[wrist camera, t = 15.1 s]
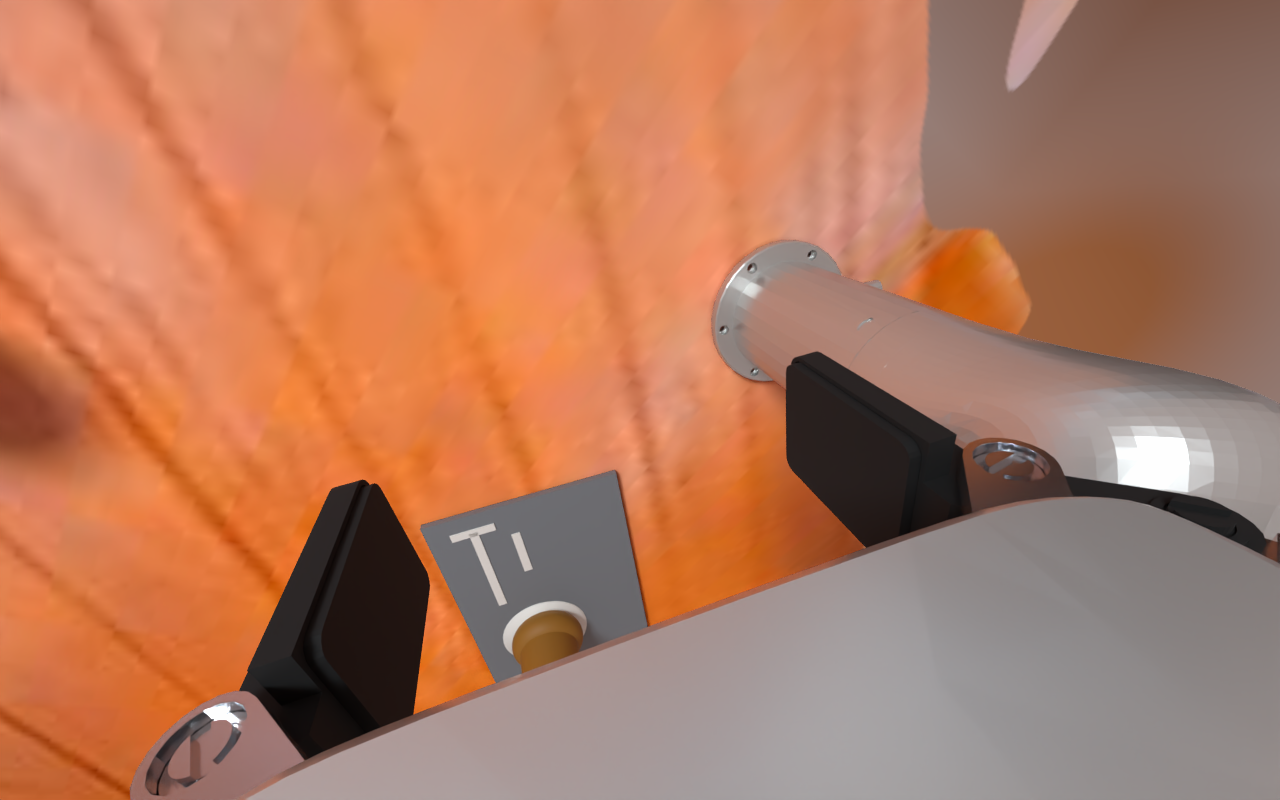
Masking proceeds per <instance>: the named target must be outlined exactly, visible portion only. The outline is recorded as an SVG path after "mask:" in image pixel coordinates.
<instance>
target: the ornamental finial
mask: <svg viewBox="0 0 1280 800" xmlns="http://www.w3.org/2000/svg"><path fill="white" fill-rule="evenodd" d="M582 642H583V630H582V627H581V624H580V623H579V621H578V620H577V619H576V618H575V617H574V616H573V615H571V614H569V613H567V612H564V611H559V610H550V611H544V612H540V613H538V614H535V615H533V616H531V617H530V618H528V619H527V620H525V621H524V622H523V623H522V624H521V625H520V626H519V628H518V629H517V631H516V632H515V635H514V637H513V641H512V651H513V655H514V657H515V659H516V661H517V662H518V663H519V664H520V665H521V671H522V673H524V672H527V671H530V670H533V669H535V668H538V667H541V666H543V665H546V664H549V663H551V662H554V661H557V660H559V659H562V658H565V657H568V656H570V655H573V654H576V653H578V652H579V650H580V648H581V646H582Z"/></svg>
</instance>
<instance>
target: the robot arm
mask: <svg viewBox="0 0 1280 800" xmlns="http://www.w3.org/2000/svg"><path fill="white" fill-rule="evenodd" d="M749 265H750V266H749ZM748 266H749V268H748ZM747 268H748V269H747ZM711 321H712V336H713V340H714V345H715V347H716V349H717V351H718V353H719V355H720V357H721V358H722V359H723V360H724V362H725V363H726V364H727V365H728V366H729V367H730V368H731V369H732V370H734V371H735V372H737V373H738V374H740V375H741V376H743V377H745V378H748V379H751V380H757V381H775V382H777V383H778V384H779V385H780V386H782V387H783V388H784V389H785V390H786V455H787V461H788V464H789V466H790V468H791V469H792V471H793V472H794V473H795V474H796V475H797V476H798V477H799V478H800V479H801V480H802V481H803V482H804V483H805V484H806V485H807V486H808V487H809V489H810V490H811V491H812V492H813V493H814V494H815V495H816V496H817V497H818V498H819V499H820V500H821V501H822V502H823V503H824V504H825V505H826V506H827V507H828V508H829V509H830V510H831V511H832V513H833V514H834V515H835V516H836V517H837V518H838V519H839V520H840V521H841V522H842V523H843V524H844V525H845V526H846V527H847V528H848V529H849V530H850V531H851V532H852V533H853V534H854V536H855V537H856V538H857V539H858V540H859V541H860V542H861V543H862V544H863V545H864V546H865V547H866V548H865V549H862V550H859V551H856V552H853V553H851V554H848V555H845V556H842V557H839V558H837V559H834V560H831V561H828V562H826V563H823V564H820V565H817V566H814V567H812V568H809V569H806V570H803V571H800V572H798V573H795V574H792V575H789V576H786V577H784V578H781V579H778V580H775V581H772V582H770V583H767V584H764V585H761V586H759V587H756V588H753V589H750V590H748V591H745V592H742V593H739V594H737V595H734V596H731V597H728V598H726V599H723V600H720V601H717V602H715V603H712V604H709V605H706V606H704V607H701V608H698V609H695V610H693V611H690V612H687V613H684V614H682V615H679V616H676V617H674V618H671V619H668V620H665V621H663V622H660V623H657V624H654V625H652V626H649V627H646V628H643V629H641V630H638V631H635V632H633V633H630V634H627V635H624V636H622V637H619V638H616V639H613V640H611V641H608V642H605V643H603V644H600V645H597V646H595V647H592V648H589V649H586V650H584V651H581V652H578V653H576V654H573V655H570V656H568V657H565V658H562V659H559V660H557V661H554V662H551V663H549V664H546V665H543V666H541V667H538V668H535V669H533V670H530V671H527V672H524V673H522V674H519V675H516V676H514V677H511V678H508V679H506V680H503V681H500V682H498V683H495V684H492V685H489V686H487V687H484V688H481V689H479V690H476V691H473V692H471V693H468V694H465V695H463V696H460V697H458V698H455V699H453V700H450V701H447V702H445V703H442V704H440V705H437V706H435V707H432V708H429V709H427V710H424V711H422V712H419V713H417V714H414V715H413V712H414V705H415V697H416V689H417V682H418V674H419V667H420V659H421V651H422V644H423V636H424V628H425V621H426V613H427V606H428V598H429V590H430V583H429V577H428V574H427V571H426V569H425V568H424V566H423V564H422V562H421V560H420V559H419V557H418V555H417V553H416V551H415V549H414V548H413V546H412V544H411V542H410V540H409V539H408V537H407V535H406V533H405V531H404V530H403V528H402V526H401V524H400V522H399V521H398V519H397V517H396V515H395V513H394V511H393V510H392V508H391V506H390V504H389V502H388V501H387V499H386V497H385V495H384V493H383V492H382V490H381V488H380V487H379V486H378V485H377V484H375V483H374V484H371V485H369V483H368V482H366V481H365V480H360V481H356V482H352V483H349V484H345V485H342V486H338V487H335V488H332V489H331V491H330V492H329V494H328V497H327V499H326V501H325V503H324V505H323V507H322V510H321V512H320V514H319V516H318V518H317V520H316V523H315V525H314V527H313V529H312V531H311V533H310V536H309V538H308V540H307V542H306V544H305V546H304V549H303V551H302V553H301V555H300V557H299V559H298V562H297V564H296V566H295V568H294V570H293V572H292V574H291V577H290V579H289V581H288V583H287V585H286V587H285V590H284V592H283V594H282V596H281V598H280V600H279V603H278V605H277V607H276V609H275V611H274V613H273V616H272V618H271V620H270V622H269V624H268V626H267V629H266V631H265V633H264V635H263V637H262V639H261V642H260V644H259V646H258V648H257V650H256V652H255V655H254V657H253V659H252V661H251V663H250V665H249V667H248V670H247V671H248V673H247V675H246V677H245V679H244V681H243V684H242V686H241V688H240V690H239V691H234V692H230V693H226V694H223V695H219V696H217V697H215V698H213V699H211V700H209V701H207V702H205V703H203V704H201V705H200V706H198V707H197V708H195V709H194V710H192V711H191V712H189V713H188V714H186V715H185V716H184V717H182V718H181V719H180V720H179V721H178V722H177V723H175V724H174V725H173V726H172V727H171V728H170V729H169V730H168V731H166V732H165V733H164V734H163V735H162V737H161V738H160V739H159V740H158V741H157V742H156V743H155V745H154V746H153V747H152V748H151V749H150V750H149V751H148V753H147V754H146V756H145V758H144V759H143V761H142V762H141V764H140V765H139V767H138V769H137V770H136V773H135V775H134V778H133V781H132V784H131V787H130V798H131V800H1280V404H1279V403H1278V402H1276V401H1274V400H1272V399H1269V398H1267V397H1265V396H1263V395H1261V394H1258V393H1256V392H1253V391H1250V390H1248V389H1245V388H1242V387H1239V386H1237V385H1234V384H1231V383H1228V382H1225V381H1222V380H1219V379H1215V378H1211V377H1207V376H1203V375H1199V374H1195V373H1191V372H1187V371H1183V370H1179V369H1175V368H1170V367H1164V366H1159V365H1154V364H1149V363H1143V362H1139V361H1133V360H1127V359H1122V358H1117V357H1112V356H1107V355H1101V354H1096V353H1091V352H1086V351H1081V350H1076V349H1071V348H1067V347H1062V346H1058V345H1054V344H1050V343H1045V342H1041V341H1037V340H1033V339H1029V338H1025V337H1022V336H1019V335H1016V334H1012V333H1009V332H1006V331H1003V330H999V329H996V328H993V327H989V326H986V325H983V324H980V323H977V322H974V321H971V320H968V319H965V318H962V317H959V316H956V315H953V314H950V313H947V312H945V311H942V310H939V309H936V308H933V307H930V306H927V305H925V304H922V303H919V302H916V301H913V300H910V299H907V298H905V297H902V296H899V295H896V294H893V293H890V292H887V291H884V290H882V285H881V282H880V281H878V280H873V281H869V282H865V283H862V282H859V281H856V280H853V279H850V278H847V277H844V276H842V275H841V272H840V270H839V268H838V266H837V264H836V262H835V261H834V260H833V259H832V257H831V256H830V255H829V254H828V253H827V252H825V251H824V250H822V249H821V248H820V247H818V246H815V245H812V244H810V243H807V242H802V241H798V240H781V241H776V242H772V243H769V244H766V245H764V246H762V247H759V248H757V249H756V250H754V251H753V252H751V253H750V254H748V255H747V256H745V257H744V258H743V259H742V260H741V261H740V262H739V263H738V264H737V265H736V266H735V267H734V268H733V269H732V271H731V272H730V273H729V275H728V276H727V277H726V279H725V280H724V282H723V284H722V286H721V288H720V290H719V292H718V294H717V297H716V300H715V303H714V307H713V313H712V319H711ZM721 327H722V328H721ZM720 328H721V329H720Z"/></svg>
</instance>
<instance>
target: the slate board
mask: <svg viewBox="0 0 1280 800" xmlns="http://www.w3.org/2000/svg"><path fill="white" fill-rule="evenodd" d="M420 530H421V532H422V534H423V536H424V538H425V540H426V542H427V544H428V546H429V548H430V550H431V552H432V554H433V556H434V558H435V560H436V562H437V564H438V566H439V568H440V570H441V572H442V575H443V577H444V579H445V581H446V583H447V585H448V587H449V589H450V591H451V593H452V595H453V597H454V599H455V601H456V603H457V605H458V607H459V609H460V611H461V613H462V615H463V617H464V619H465V621H466V623H467V625H468V627H469V629H470V631H471V633H472V635H473V637H474V639H475V641H476V643H477V645H478V647H479V649H480V651H481V654H482V656H483V658H484V660H485V662H486V664H487V666H488V668H489V670H490V672H491V674H492V676H493V678H494V680H495V682H496V683H498V682H500V681H503V680H506V679H508V678H511V677H514V676H516V675H519V674H522V671H521V665H520V664H519V663H518V662H517V661H516V659H515V657H514V655H513V651H512V641H513V637H514V635H515V632H516V631H517V629H518V628H519V626H520V625H521V624H522V623H523V622H524V621H525V620H527V619H528V618H530V617H531V616H533V615H535V614H538V613H540V612H544V611H550V610H559V611H564V612H567V613H569V614H571V615H573V616H574V617H575V618H576V619H577V620H578V621H579V623H580V624H581V627H582V630H583V642H582V646H581V648H580V650H579V652H581V651H584V650H586V649H589V648H592V647H595V646H597V645H600V644H603V643H605V642H608V641H611V640H613V639H616V638H619V637H622V636H624V635H627V634H630V633H633V632H635V631H638V630H641V629H643V628H646V627H648V626H647V621H646V616H645V612H644V607H643V602H642V597H641V592H640V587H639V582H638V577H637V573H636V568H635V563H634V558H633V553H632V548H631V543H630V538H629V534H628V529H627V524H626V519H625V514H624V509H623V504H622V499H621V494H620V490H619V485H618V480H617V475H616V472H615V470H613V471H609V472H606V473H602V474H599V475H595V476H592V477H588V478H585V479H581V480H578V481H574V482H571V483H567V484H564V485H560V486H557V487H553V488H550V489H546V490H543V491H539V492H536V493H532V494H528V495H525V496H521V497H518V498H514V499H511V500H507V501H504V502H500V503H497V504H493V505H490V506H486V507H483V508H479V509H476V510H472V511H469V512H465V513H462V514H458V515H455V516H451V517H448V518H444V519H441V520H437V521H434V522H430V523H427V524H423V525H421V529H420Z"/></svg>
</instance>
